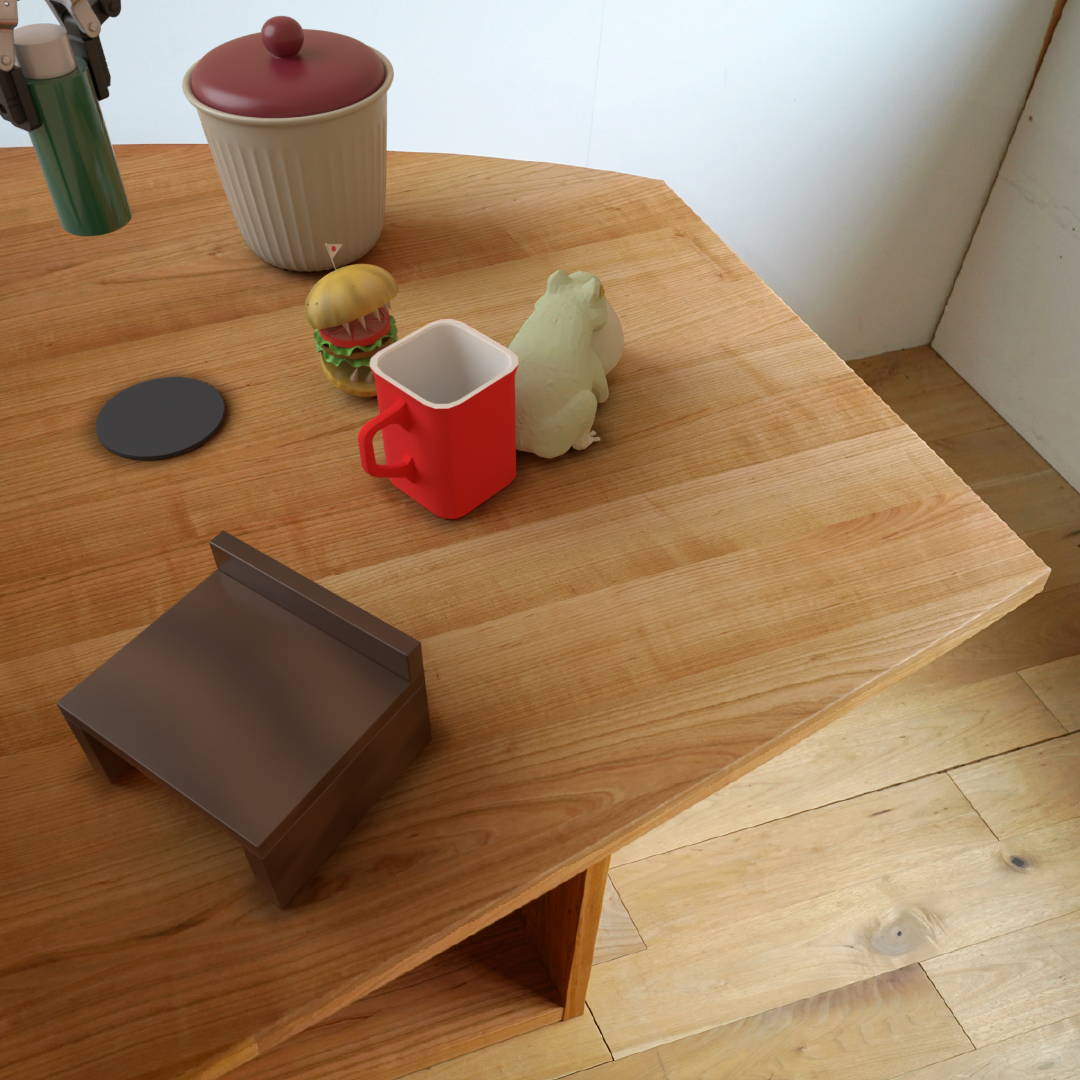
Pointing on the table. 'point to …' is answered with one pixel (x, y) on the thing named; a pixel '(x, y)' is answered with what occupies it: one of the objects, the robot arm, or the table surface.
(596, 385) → the figurine
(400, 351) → the mug
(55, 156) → the bottle
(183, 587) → the table surface
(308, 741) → the shelf
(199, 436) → the coaster
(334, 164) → the canister
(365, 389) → the hamburger
